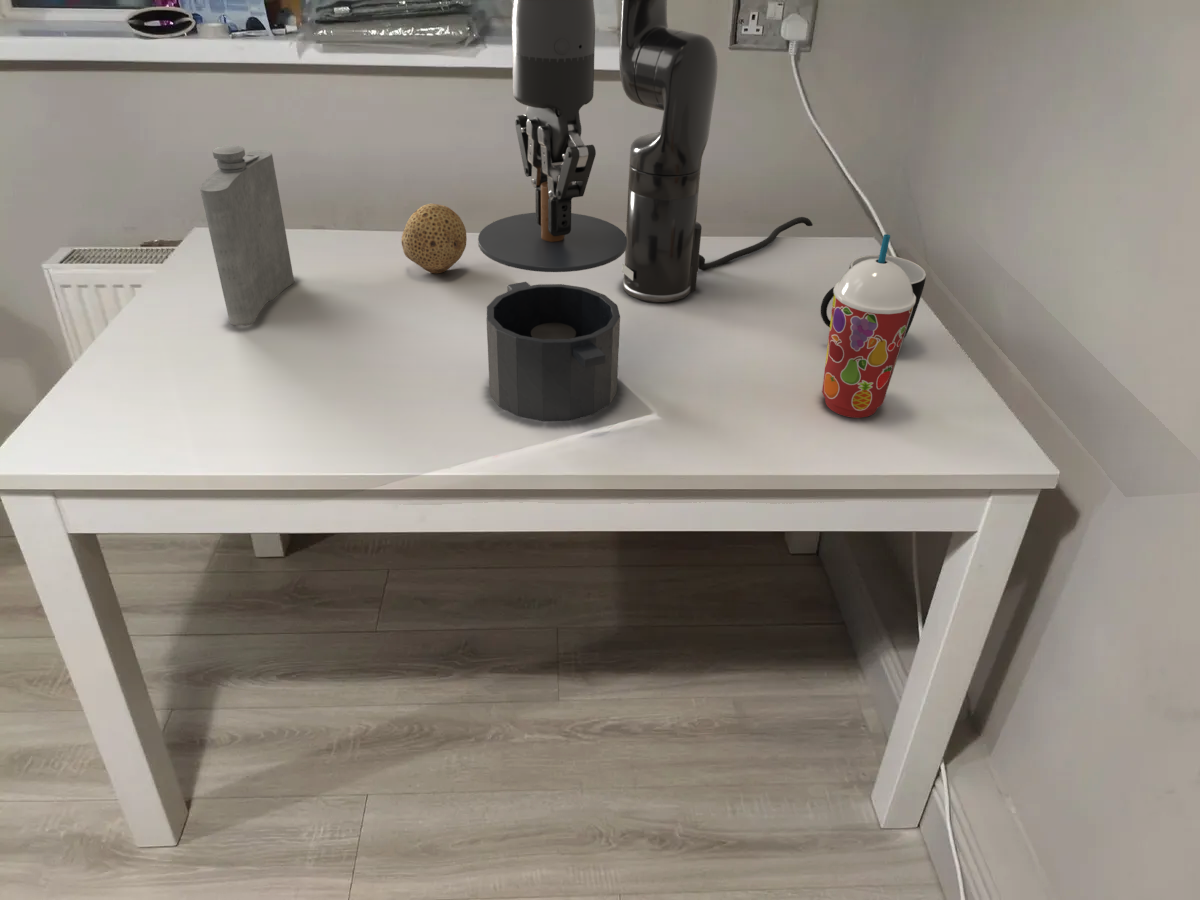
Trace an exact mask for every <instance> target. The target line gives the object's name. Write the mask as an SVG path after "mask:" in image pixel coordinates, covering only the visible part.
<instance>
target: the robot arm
mask: <svg viewBox="0 0 1200 900" xmlns="http://www.w3.org/2000/svg"><path fill="white" fill-rule="evenodd" d="M594 3H595V2H594V0H512V9H511V57H512V58H511V61H512V62H511V63H512V94H513V95H512V96H513V98H514V99H515V100H516V101H517V102H518V103H520V104H521V105H524V106H527V107H526V113H525V114H518V115H515V116H514V125H515V130H516V136H517V141H518V146H519V151H520V157H521V162H522V167H523V170H524V171H523V172H524V175H525V177H531V181H530V182H531V185H532V188H534V189H535V194H534V195H535V213H536V223H537V224H539V225H540V226H541V184H542V183H543V182H546V181H548V196H549V199H548V231H549V233H550V234H551V235H553V236H561V235H567V234H569V233H570V231H571V213H572V199H574V198H580V197H581V198H582V197H584V196H585V191H586V188H587V186H588V181H589V179H590V175H591V173H592V169H593V165H594V161H595V158H596V155H597V154H596V153H597V151H596V147H595V145H594V144H586V145H585V143H584V141H583V140H582V137H581V136H582V124H581V116H580V110H581V108H583V106H585V105H588V104H589V103H590V102H592V101H593V98H594V91H595V89H594V86H595V85H594V84H595V49H596V48H595V46H596V15H595V13H596V12H595V4H594ZM620 4H621V5H620V6H621V9H620V27H619V29H620V32H619V52H618V53H619V56H618V57H619V61H618V63H619V65H618V66H619V77H620V81H621V87H622V88H623V91H624V94H625V95H626V97H627V98H628V99H629V100H630V101H631V102H633V103H635V104H637V105H640V106H643V107H647V108H651V109H654V110H658V111H663V113H662V120H661V127H660V131H659V132H652V133H648V134H644V135H641V136H638V137H636V138H635V139H634V140H632V142H631V144H630V148H629V149H630V150H629V163H628V165H629V166H628V167H629V168H628V185H627V186H628V187H627V205H626V207H627V208H626V227H625V228H626V229H625V236H626V238H627V247H626V250H625V252H624V263H622V266H621V272H622V274H623V279H622V288H623V290H624V292H625V294H627V295H629V296H631V297H633V298H635V299H638V300H642V301H645V302H653V303H669V302H675V301H679V300H682V299H684V298H686V297H687V296H688V295H690V293H691V292H696V291H697V280H698V272H699V270H702V271H706V270H710V269H712V268H716V267H720V266H722V265H724V264H727V263H729V262H731V261H735V260H736V259H739V258H741V257H744V256H746V255H750V254H753V253H754V252H757V251H759V250H761V249H763V248H766V247H767V246H769V245H770V244H772V242H774V241H775V240H776V238H777V237H778V236H779V234H781V233H782V232H784V231H785V230H788V229H790V228H792V227H794V226H796V225H798V224H805V226H807V227H813V226H814V224H813V222H812V221H811V220H810V219H809V218H808V217H805V216H799V217H795V218H793V219H791V220H789V221H787V222H785V223H783V224H781V225H779V226H777V227H776V228H775V229H774V230H773V231H771V233H770V234H769V235H768V236H767V238H764V240H761V241H760V242H757V243H755V244H753V245H750V246H748V247H745V248H742V249H738V250H736V251H733V252H730V253H729V254H726V255H724V256H723V257H720V258H718V259H716V260H714V261H713V260H712V261H711V262H707V263H706V258H705V257H704V256H703V255H702V254H700V249H701V238H702V224H701V223H699V222H698V221H697V213H698V203H699V202H698V201H699V191H700V180H701V169H702V161H703V155H704V152H705V149H706V147H707V144H708V140H709V135H710V131H711V130H710V129H711V123H712V116H713V115H712V114H713V109H714V100H715V94H716V88H717V81H718V56H717V51H716V48H715V45H714V44H713V42H712V41H711V39H710V38H708V37H707V36H705V35H703V34H700V33H696V32H692V31H691V32H690V31H686V30H679V29H675V28H671V27H669V25H668V0H621V2H620ZM557 181H558V184H557Z"/></svg>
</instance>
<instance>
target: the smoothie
mask: <svg viewBox="0 0 1200 900" xmlns="http://www.w3.org/2000/svg"><path fill="white" fill-rule="evenodd" d="M890 239H891V235H890V234H887V233H884V234H883V237H882V242H881V246H880V250H879V254H878V255H879V258H874V259H868V260H864V261H861V262H859V263H857V264H856V265H854V266H853V267H851V268H850V269H849V268H848V269H847V271H845V273H844V274H843V276H842V277H841V278H840V280H839V281H837V282H836V283H835V284H834V286H835V287H834V286H833V287H834V289H833V293H834V296H833V298H832V304H831V305H832V306H831V312H830V313H831V314H830V328H829V331H828V339H827V347H826V354H825V355H826V356H825V363H824V372H823V379H822V390H821V393H822V396H823V397H824V402H825V405H826V407H827V408H828V409H829V410H831V411H832V412H833V413H836V414H838V415H840V416H843V417H848V418H854V419H855V418H857V419H859V418H860V419H861V418H868V417H869V416H870V417H871V416H872V415H874V414H875V413H876V412H877V410H878V408H881V406H882V405H883V404H884V402H885V399H886V396H887V392H888V389H889V387H890V384H891V380H892V377H893V374H894V370H895V367H896V363H897V361H898V358H899V355H900V351H901V348H902V346H903V342H904V340H905V339H904V336H905V332H906V329H907V326H908V323H909V320H910V316H911V313H912V310H913V306H914V305H915V302H916V296H915V295H914V293H913V289H912V285H911V282H910V280H909V278H908V276H907V274H906V273H905V272H904V270H903V269H902V268H901V267H900V266H898V265H897V264H895V263H893V262H891V261H889V260H886V255H887V253H888V249H889V244H890ZM903 339H904V340H903Z"/></svg>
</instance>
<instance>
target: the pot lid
mask: <svg viewBox="0 0 1200 900" xmlns="http://www.w3.org/2000/svg"><path fill="white" fill-rule="evenodd" d="M558 181H559V180H558ZM558 181H557V184H558ZM548 199H549V196H548V181H546V182H543V183H542V184H541V226H540V225H539V224H537V223H536V212H526V213H520V214H515V215H510V216H507V217H504V218H500V219H498V220H494V221H493V222H491V223H489V224H487V225H486V226H485V227H483V228H482V230H481V231H479V234H478V237H477V244H478V248H479V251H481V253H482V254H483V255H484V256H486V257H487V258H489V259H490V260H492V261H494V262H496V263H498V264H500V265H504V266H506V267H510V268H515V269H518V270H524V271H530V272H540V273H542V272H543V273H569V272H579V271H584V270H590V269H591V270H592V269H595V268H599V267H602V266H605V265H608V264H610V263H612V262H614V261H616V260H618V259H619V258H620V257H622V255H623V254H625V250H626V247H627V238H626V233H625V232H624V231H623V230H622V229H621V228H620V227H619V226H616V225H615V224H613V223H611V222H609V221H606V220H604V219H601V218H597V217H594V216H590V215H585V214H581V213H574V212H571V231H570V233H569V234H567V235H561V236H553V235H551V234H550V233H549V231H548Z"/></svg>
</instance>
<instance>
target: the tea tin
mask: <svg viewBox="0 0 1200 900" xmlns="http://www.w3.org/2000/svg"><path fill="white" fill-rule="evenodd" d="M530 337H533V338H539V339H571V338H575V337H576V331H575V329H574V328H572V327H571V326H569V325H566V324H562V323H544V324H540V325H538V326H536V327H534V328H533V329H532V330H531V333H530Z"/></svg>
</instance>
